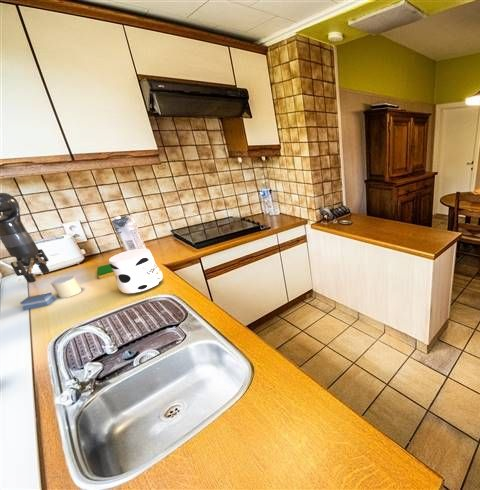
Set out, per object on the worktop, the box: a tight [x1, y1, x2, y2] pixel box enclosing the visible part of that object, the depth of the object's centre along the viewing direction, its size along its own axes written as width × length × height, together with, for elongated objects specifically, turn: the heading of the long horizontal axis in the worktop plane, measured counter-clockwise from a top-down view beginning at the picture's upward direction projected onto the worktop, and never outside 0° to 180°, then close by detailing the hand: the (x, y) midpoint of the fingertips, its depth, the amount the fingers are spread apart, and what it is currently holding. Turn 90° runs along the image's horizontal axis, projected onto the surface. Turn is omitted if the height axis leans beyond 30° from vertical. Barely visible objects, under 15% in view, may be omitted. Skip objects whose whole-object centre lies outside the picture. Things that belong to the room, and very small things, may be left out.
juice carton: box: [111, 215, 147, 252], centre depth 162 cm, size 9×10×27 cm
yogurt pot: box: [50, 275, 82, 299], centre depth 128 cm, size 8×8×8 cm
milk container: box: [108, 247, 164, 295], centre depth 128 cm, size 17×17×18 cm
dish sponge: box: [96, 263, 115, 280], centre depth 148 cm, size 7×14×2 cm, turn 44°
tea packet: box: [19, 292, 56, 311], centre depth 121 cm, size 8×5×4 cm, turn 112°
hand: (39, 277), depth 115 cm, fingers open, 8 cm apart
